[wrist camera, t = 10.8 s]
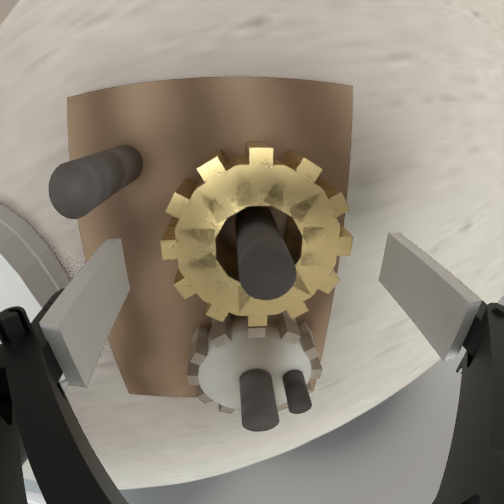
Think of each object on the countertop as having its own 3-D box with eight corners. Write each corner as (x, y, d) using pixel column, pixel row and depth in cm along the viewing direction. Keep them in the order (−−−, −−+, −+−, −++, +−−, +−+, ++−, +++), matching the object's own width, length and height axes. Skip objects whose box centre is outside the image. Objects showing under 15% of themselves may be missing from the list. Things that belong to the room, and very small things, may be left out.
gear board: (133, 379, 27) (114, 451, 19) (80, 98, 16) (-2, 95, 8) (309, 376, 28) (330, 449, 20) (341, 88, 17) (415, 73, 9)
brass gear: (181, 292, 20) (173, 327, 17) (169, 145, 16) (153, 151, 13) (321, 287, 21) (338, 320, 18) (335, 146, 17) (361, 153, 13)
